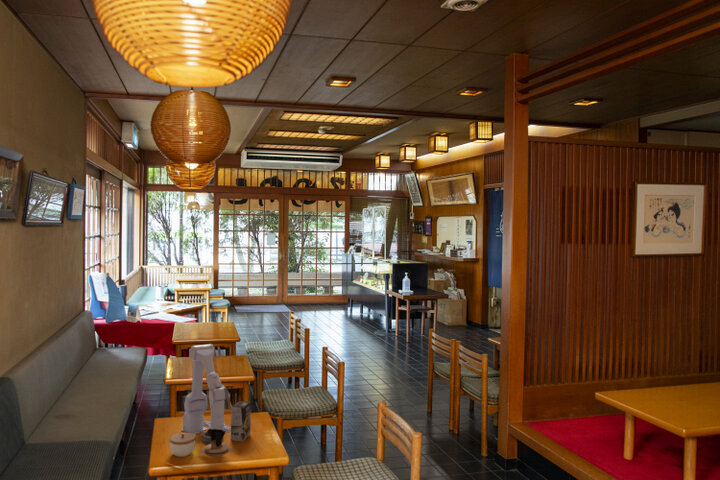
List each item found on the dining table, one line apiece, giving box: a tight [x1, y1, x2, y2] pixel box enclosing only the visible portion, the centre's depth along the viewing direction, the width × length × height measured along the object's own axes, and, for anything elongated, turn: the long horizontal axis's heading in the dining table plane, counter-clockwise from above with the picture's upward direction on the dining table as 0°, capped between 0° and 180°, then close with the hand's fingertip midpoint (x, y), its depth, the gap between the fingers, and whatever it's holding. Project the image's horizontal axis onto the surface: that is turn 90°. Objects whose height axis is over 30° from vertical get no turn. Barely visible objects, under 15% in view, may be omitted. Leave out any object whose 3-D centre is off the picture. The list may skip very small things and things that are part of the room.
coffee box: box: [230, 400, 252, 442], centre depth 258 cm, size 9×6×16 cm
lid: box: [204, 439, 229, 453], centre depth 243 cm, size 10×10×4 cm
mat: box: [199, 446, 234, 458], centre depth 243 cm, size 10×10×1 cm
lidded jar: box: [169, 432, 197, 458], centre depth 238 cm, size 11×11×9 cm
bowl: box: [201, 430, 224, 444], centre depth 255 cm, size 9×10×3 cm
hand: (216, 445), depth 243 cm, fingers closed on lid, 2 cm apart
